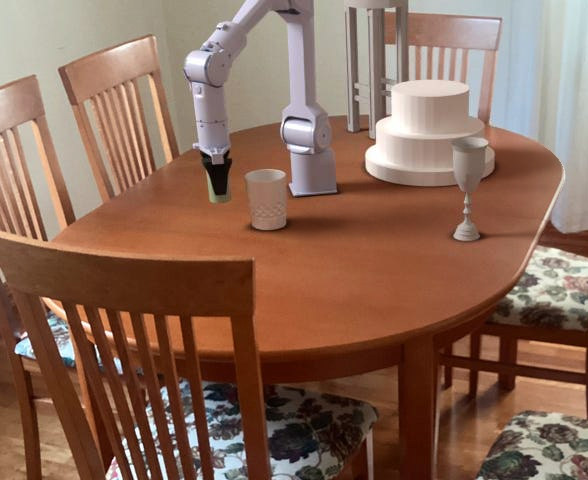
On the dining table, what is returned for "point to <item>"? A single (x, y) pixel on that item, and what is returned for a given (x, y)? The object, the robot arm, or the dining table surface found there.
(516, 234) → the dining table surface
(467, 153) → the chalice
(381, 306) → the dining table surface
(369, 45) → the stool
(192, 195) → the dining table surface
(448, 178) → the cake
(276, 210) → the white cup
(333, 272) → the dining table surface
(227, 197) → the salt shaker
